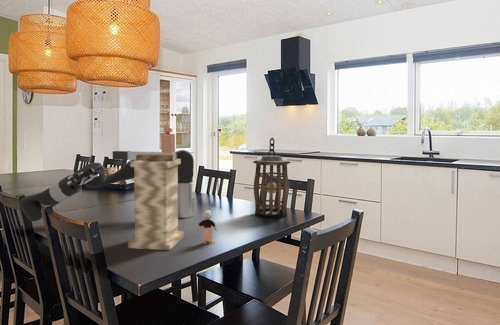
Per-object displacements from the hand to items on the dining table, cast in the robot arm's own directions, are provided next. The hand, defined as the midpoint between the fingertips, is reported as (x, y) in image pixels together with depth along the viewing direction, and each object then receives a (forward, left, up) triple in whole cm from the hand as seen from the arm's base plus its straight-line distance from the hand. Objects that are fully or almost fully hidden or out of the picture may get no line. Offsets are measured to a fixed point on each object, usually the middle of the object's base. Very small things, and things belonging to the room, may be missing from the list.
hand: (98, 169), depth 147 cm
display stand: (-18, +15, -28) cm, 37 cm away
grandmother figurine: (-34, +26, -28) cm, 51 cm away
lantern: (-84, 0, -28) cm, 89 cm away
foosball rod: (-14, +12, +4) cm, 19 cm away
